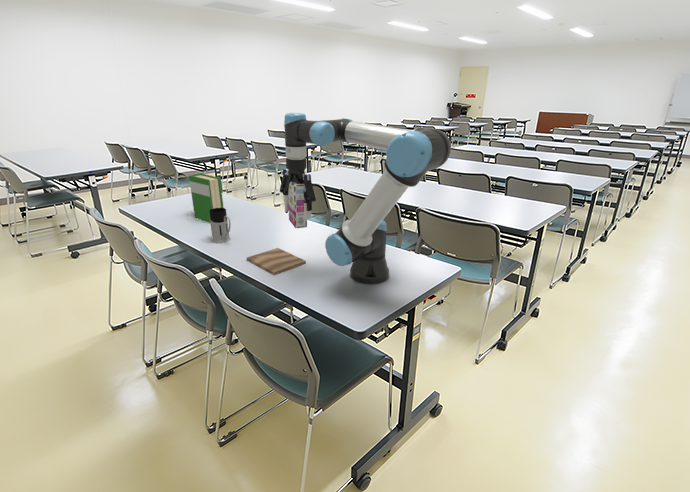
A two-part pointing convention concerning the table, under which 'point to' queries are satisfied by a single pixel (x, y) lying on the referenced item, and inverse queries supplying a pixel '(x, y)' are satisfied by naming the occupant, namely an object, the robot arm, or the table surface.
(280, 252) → the walnut board
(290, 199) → the candy bar box
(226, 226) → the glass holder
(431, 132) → the robot arm
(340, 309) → the table surface
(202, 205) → the hardback book
